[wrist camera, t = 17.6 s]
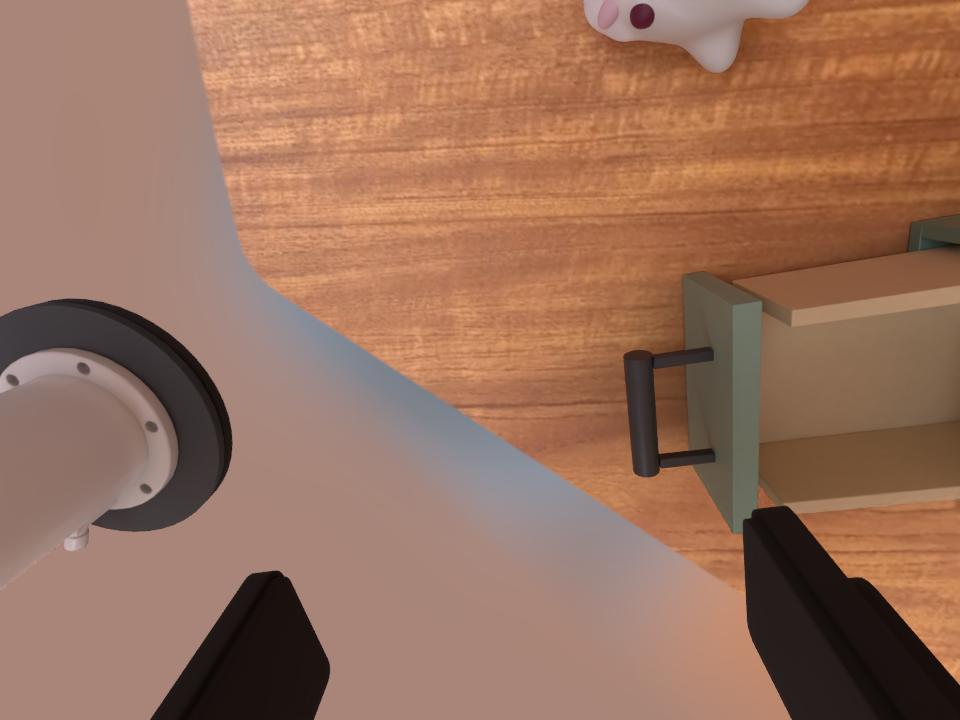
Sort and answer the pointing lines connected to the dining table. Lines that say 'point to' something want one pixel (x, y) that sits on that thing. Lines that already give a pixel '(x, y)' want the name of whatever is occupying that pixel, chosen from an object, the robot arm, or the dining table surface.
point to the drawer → (815, 386)
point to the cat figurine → (686, 23)
